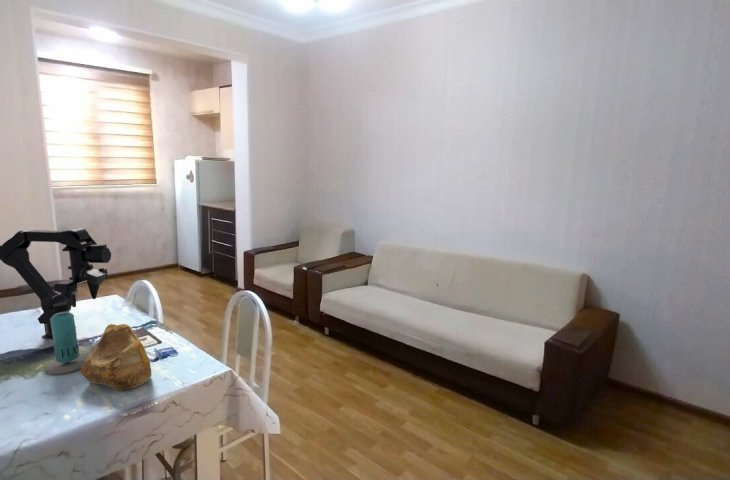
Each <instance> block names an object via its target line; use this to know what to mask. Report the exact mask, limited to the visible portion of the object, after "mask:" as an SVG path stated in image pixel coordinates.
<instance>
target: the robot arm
mask: <svg viewBox="0 0 730 480" xmlns="http://www.w3.org/2000/svg"><path fill="white" fill-rule="evenodd" d="M32 242H36V243H37V242H38V243H40V242H45V243H46V242H47V243H48V242H49V243H59V244H61V245H65V247H63V248H62V252H68V255H69V264H70V265H68V266H67V269H68V270H70V271H71V276H69V277H68V280H61V281H58V282H57V283H54V285H53V288H52V286H50V284H49V283H48V282H47V281H46V280H45V278H44V277H43V275H41V273H40V272H39V271H38V270H37V268H36V266H34V265H33V264H32V262H31V261H30V253H29V251H28V249H29V247H30V246H31V244H32ZM111 259H112V252H111V249H109V248H108V247H107V244H97V242H96V241H95V240H94V238H92V236H91V235H90V234H89V232H88V230H87V229H86V228H84V227H78V228H70V229H66V230H45V229H44V230H39V229H38V230H37V229H30V228H29V229H24V230H19V231H17V232H16V233H14V235H13V236H12V237H10V238H9V239H7V240H6V241H5V242H4V243H2V244H1V245H0V261H1V262H2V263H3V264H5V265H7V266H9V267H11V268H13V269H14V270H16V272H17V273H18V274H19V276H20V277H21V278H22V279H23V280H24V281H25V283H26V284H27V286H28V287H29V288H30V289H31V290H32V291H33V292H34V294H35V295H36V296H37V297H38V298H39V301H40V309H41V310H42V314H40V316H39V317H38V318H37V320H38V323H39V325H40V324H41V325H43V326H44V332H45V334H43V335H42V336H41V338H46V339H53V334H52V327H51V321H50V319H51V317H52V316H53V315H55V314H57V313H60V312H53V305H54V304H57V303H62V302H66V303H68V306H69V309H68V310H66V311H63V312H71V310H72V307H73V308H76V307H77V298H76V294H77V293H78V291H79V289H78V286H79V285H81V284H85V283H87V287H88V289H89V293H90V296H91V299H92V300H96V298H97V296H98V292H99V288H100V286H101V284H103V282H105V281H106V279H108V269H107V268H106V267H104V266H103V267H100V268H96V269H95V268H94V265H93V264H108V263H109V262H110V261H111Z"/></svg>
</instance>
